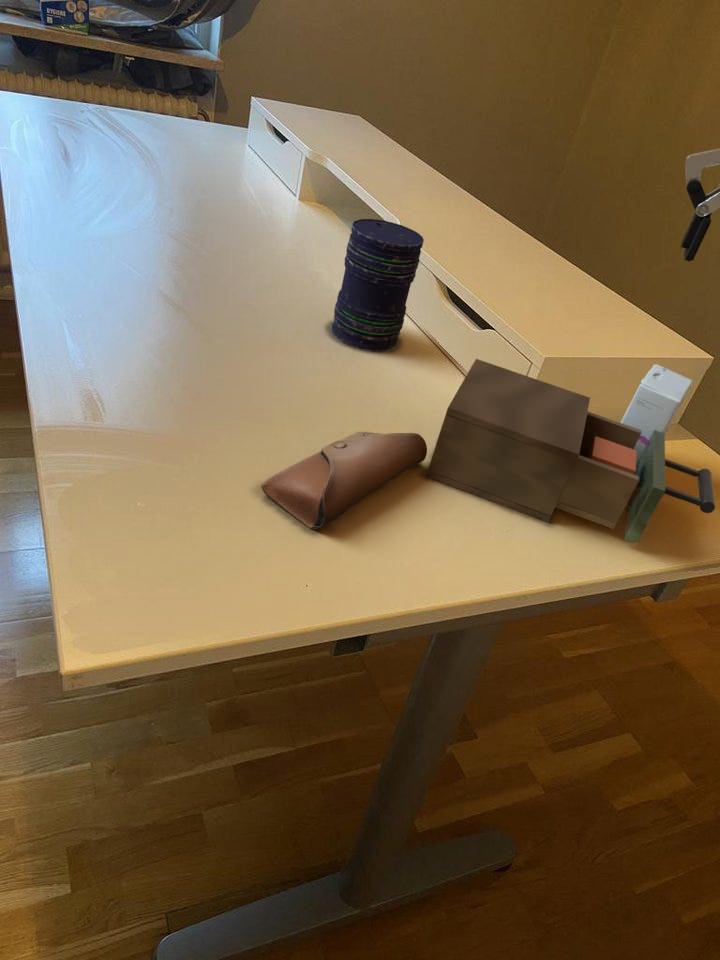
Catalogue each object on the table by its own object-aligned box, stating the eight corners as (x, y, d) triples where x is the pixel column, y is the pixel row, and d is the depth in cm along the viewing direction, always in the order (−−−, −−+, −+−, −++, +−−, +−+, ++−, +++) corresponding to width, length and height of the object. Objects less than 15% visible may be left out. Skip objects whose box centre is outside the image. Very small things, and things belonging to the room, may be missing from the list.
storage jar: (410, 350, 104) (438, 247, 96) (349, 353, 100) (373, 244, 91) (377, 319, 111) (401, 220, 103) (319, 320, 106) (338, 216, 98)
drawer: (688, 499, 85) (716, 451, 81) (692, 564, 74) (724, 512, 70) (535, 445, 88) (555, 395, 84) (518, 500, 77) (541, 446, 73)
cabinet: (563, 459, 88) (590, 397, 83) (548, 522, 77) (579, 454, 72) (455, 421, 90) (476, 358, 86) (425, 476, 79) (447, 407, 74)
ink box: (636, 488, 86) (682, 401, 80) (596, 469, 88) (637, 382, 81) (651, 460, 93) (695, 377, 86) (613, 443, 94) (653, 360, 88)
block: (619, 484, 82) (637, 450, 80) (618, 505, 78) (636, 470, 76) (579, 470, 83) (595, 435, 80) (575, 490, 79) (592, 455, 77)
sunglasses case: (362, 427, 83) (399, 396, 79) (398, 478, 83) (437, 450, 78) (254, 487, 70) (290, 454, 66) (296, 548, 70) (335, 519, 65)
